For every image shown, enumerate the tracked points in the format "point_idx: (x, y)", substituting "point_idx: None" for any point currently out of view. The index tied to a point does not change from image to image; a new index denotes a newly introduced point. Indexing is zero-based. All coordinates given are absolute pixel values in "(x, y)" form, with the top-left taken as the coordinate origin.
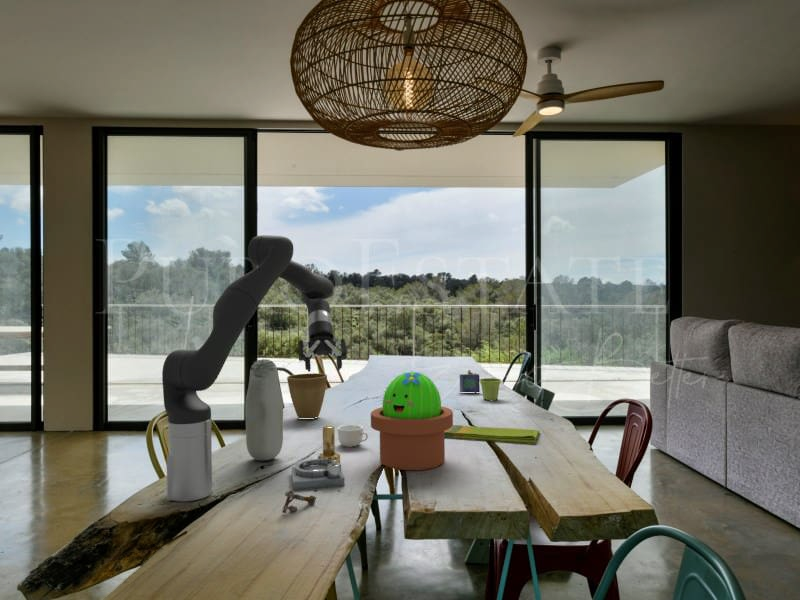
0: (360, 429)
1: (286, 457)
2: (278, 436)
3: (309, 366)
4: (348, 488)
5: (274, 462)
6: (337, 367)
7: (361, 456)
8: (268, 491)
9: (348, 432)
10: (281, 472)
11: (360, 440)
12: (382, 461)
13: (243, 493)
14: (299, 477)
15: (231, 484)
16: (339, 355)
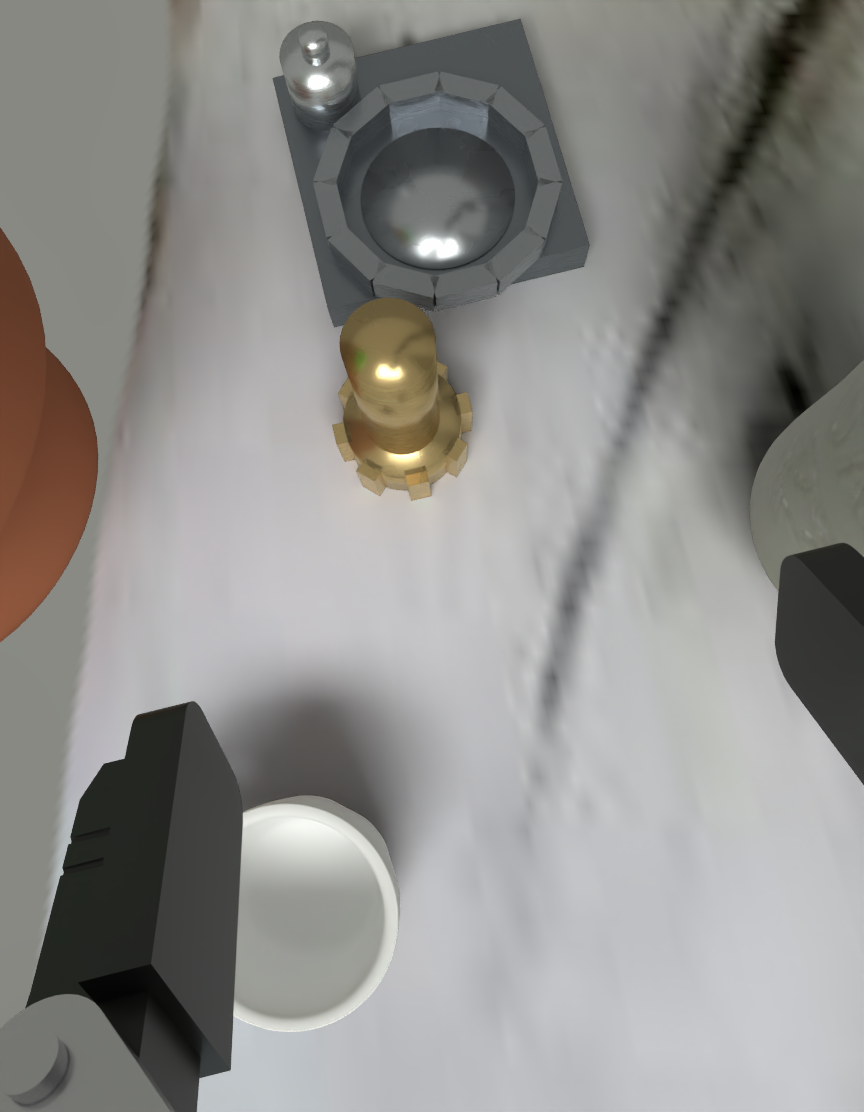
0: None
1: (705, 583)
2: (788, 431)
3: (821, 552)
4: (258, 73)
5: (750, 479)
6: (216, 771)
7: (221, 593)
8: (632, 36)
9: (297, 799)
10: (650, 298)
11: None
12: (80, 393)
13: (743, 12)
14: (505, 86)
15: (853, 122)
16: (50, 1009)
